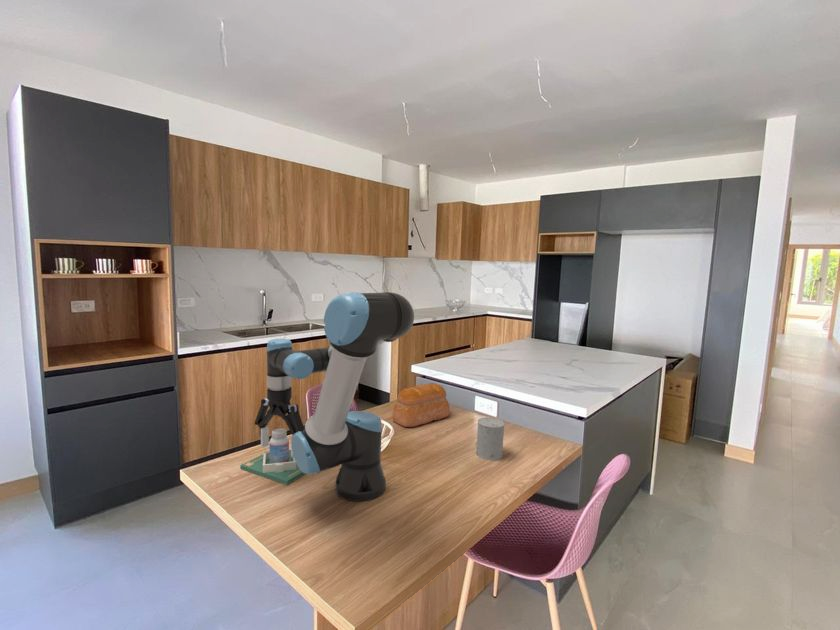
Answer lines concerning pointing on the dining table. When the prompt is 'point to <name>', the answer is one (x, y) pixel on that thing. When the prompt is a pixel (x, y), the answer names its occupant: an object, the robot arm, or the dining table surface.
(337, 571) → the dining table surface
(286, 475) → the board
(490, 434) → the grey concrete cylinder
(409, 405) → the bread
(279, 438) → the pill bottle
